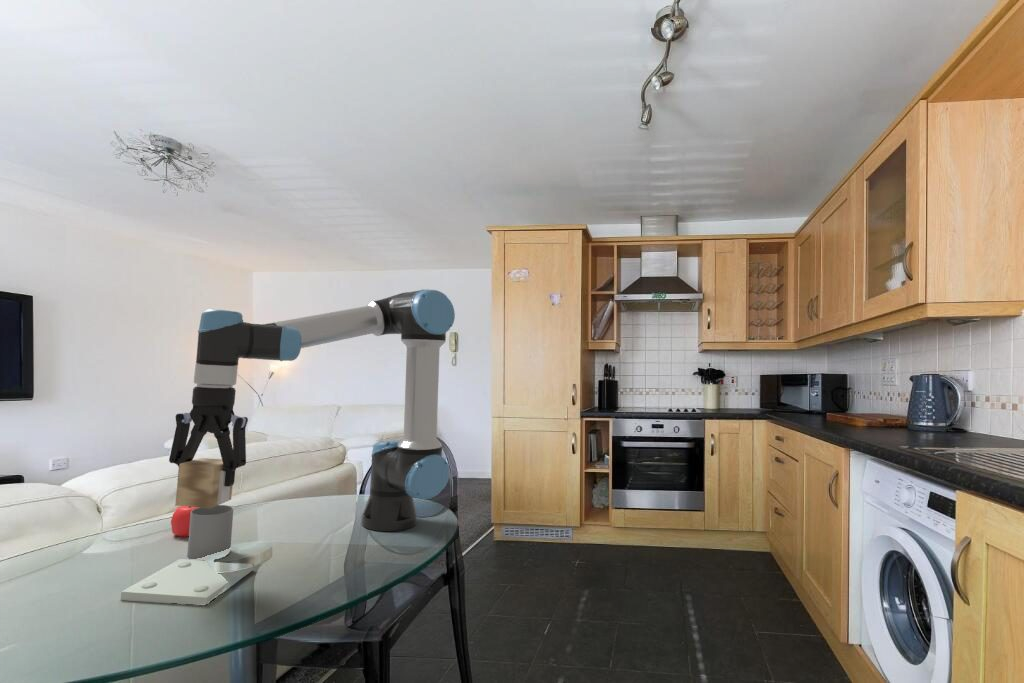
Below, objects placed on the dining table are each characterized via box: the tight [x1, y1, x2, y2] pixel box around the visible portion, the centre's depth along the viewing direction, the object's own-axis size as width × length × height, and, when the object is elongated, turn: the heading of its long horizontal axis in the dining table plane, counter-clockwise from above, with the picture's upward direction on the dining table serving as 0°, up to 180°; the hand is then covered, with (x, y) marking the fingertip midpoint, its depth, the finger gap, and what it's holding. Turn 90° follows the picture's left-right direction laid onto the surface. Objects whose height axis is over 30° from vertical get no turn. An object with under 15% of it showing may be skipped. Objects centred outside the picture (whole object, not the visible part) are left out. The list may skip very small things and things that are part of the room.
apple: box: [170, 506, 199, 538], centre depth 130 cm, size 8×8×8 cm
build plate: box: [120, 558, 228, 605], centre depth 103 cm, size 16×16×2 cm
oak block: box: [174, 457, 234, 508], centre depth 105 cm, size 7×7×8 cm
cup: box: [186, 504, 234, 559], centre depth 118 cm, size 8×8×10 cm
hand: (204, 500), depth 104 cm, fingers closed on oak block, 7 cm apart
